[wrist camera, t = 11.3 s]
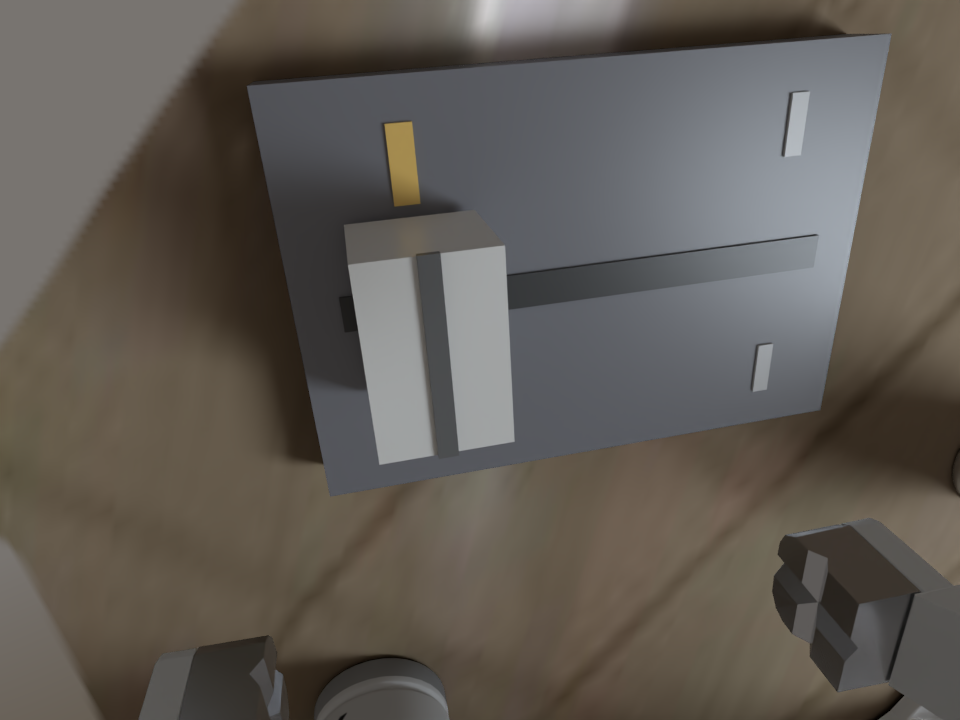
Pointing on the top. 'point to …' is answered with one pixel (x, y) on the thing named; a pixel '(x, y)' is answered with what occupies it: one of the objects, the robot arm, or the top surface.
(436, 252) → the fader knob
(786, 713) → the top surface
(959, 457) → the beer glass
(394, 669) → the travel mug
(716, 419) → the fader panel
